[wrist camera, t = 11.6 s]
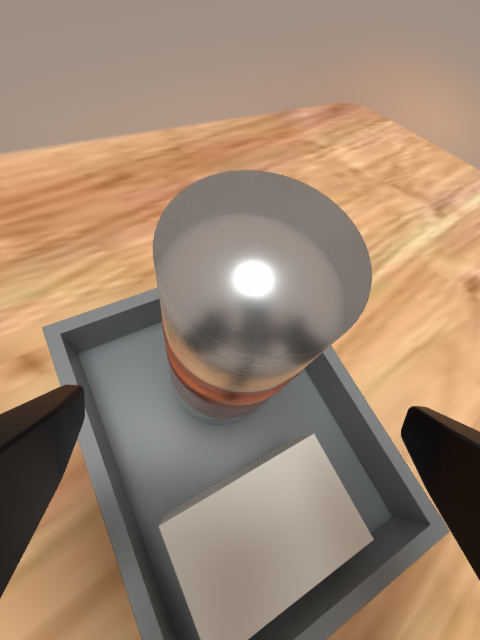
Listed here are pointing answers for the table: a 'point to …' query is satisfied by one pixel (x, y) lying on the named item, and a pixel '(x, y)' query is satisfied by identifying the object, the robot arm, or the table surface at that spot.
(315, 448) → the white rectangular block
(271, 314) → the steel tin
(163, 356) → the tote
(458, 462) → the robot arm
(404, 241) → the table surface
